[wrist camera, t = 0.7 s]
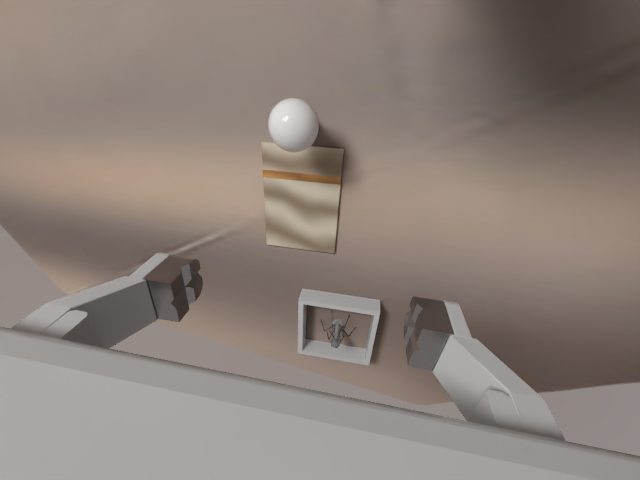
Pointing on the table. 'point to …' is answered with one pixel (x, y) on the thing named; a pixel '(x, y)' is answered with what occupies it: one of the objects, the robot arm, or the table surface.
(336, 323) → the bacteriophage
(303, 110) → the lightbulb
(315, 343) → the specimen tray
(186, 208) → the table surface
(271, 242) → the board
